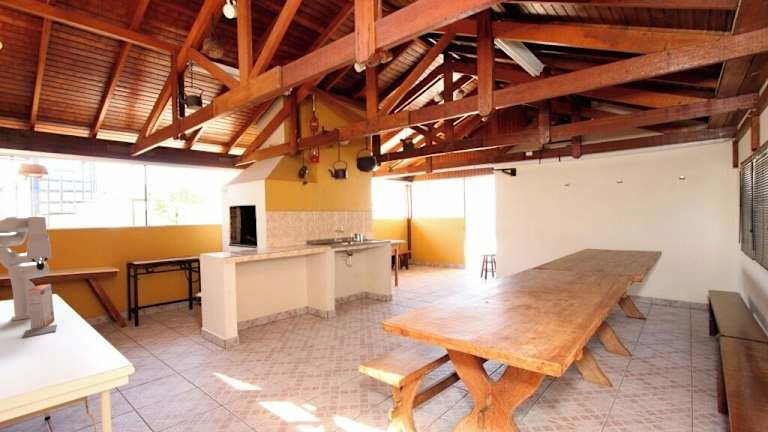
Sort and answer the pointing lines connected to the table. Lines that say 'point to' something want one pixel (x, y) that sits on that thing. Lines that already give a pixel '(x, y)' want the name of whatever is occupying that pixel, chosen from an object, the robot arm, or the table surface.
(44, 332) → the mat
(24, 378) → the table surface
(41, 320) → the cracker box
